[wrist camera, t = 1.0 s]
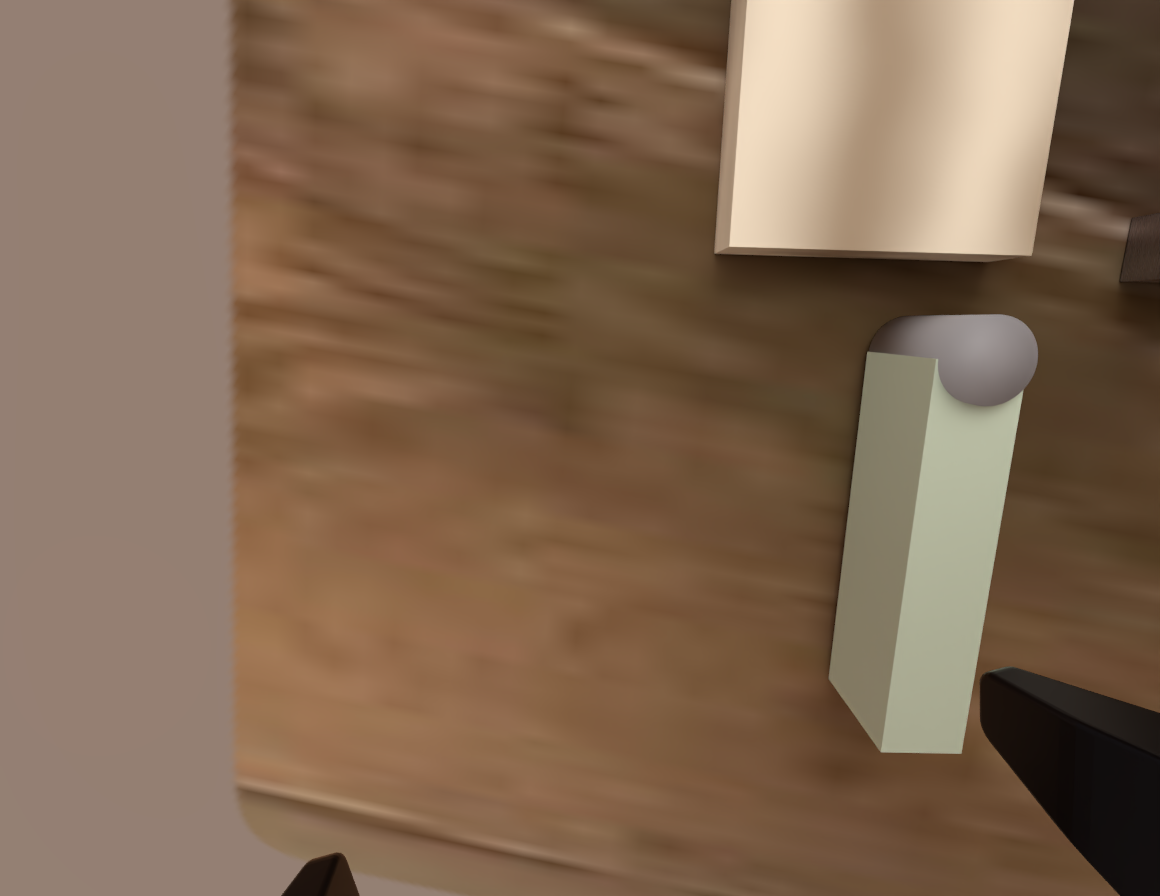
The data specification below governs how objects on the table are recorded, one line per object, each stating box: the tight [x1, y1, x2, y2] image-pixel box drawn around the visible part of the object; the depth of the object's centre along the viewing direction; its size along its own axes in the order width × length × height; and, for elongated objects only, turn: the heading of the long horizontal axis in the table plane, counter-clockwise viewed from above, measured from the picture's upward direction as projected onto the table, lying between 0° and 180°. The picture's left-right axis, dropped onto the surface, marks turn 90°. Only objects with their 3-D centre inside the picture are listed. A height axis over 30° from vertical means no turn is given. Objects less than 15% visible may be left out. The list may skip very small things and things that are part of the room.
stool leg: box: [829, 314, 1038, 754], centre depth 20 cm, size 13×2×4 cm, turn 178°
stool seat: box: [714, 0, 1074, 262], centre depth 18 cm, size 9×9×2 cm
